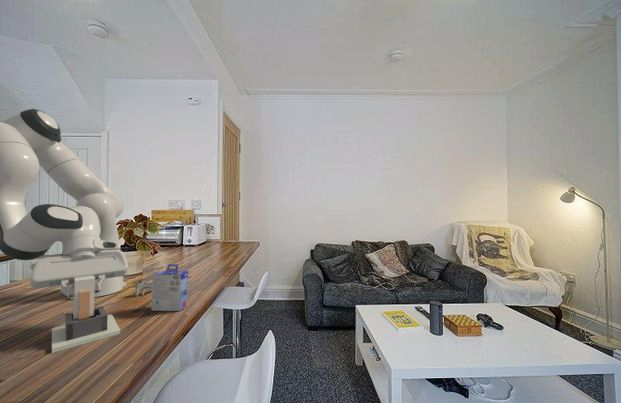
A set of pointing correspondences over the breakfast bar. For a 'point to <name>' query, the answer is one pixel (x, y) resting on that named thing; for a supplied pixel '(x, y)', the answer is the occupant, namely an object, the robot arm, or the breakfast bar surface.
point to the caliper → (142, 285)
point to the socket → (84, 330)
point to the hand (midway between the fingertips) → (84, 293)
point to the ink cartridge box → (170, 290)
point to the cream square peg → (83, 297)
